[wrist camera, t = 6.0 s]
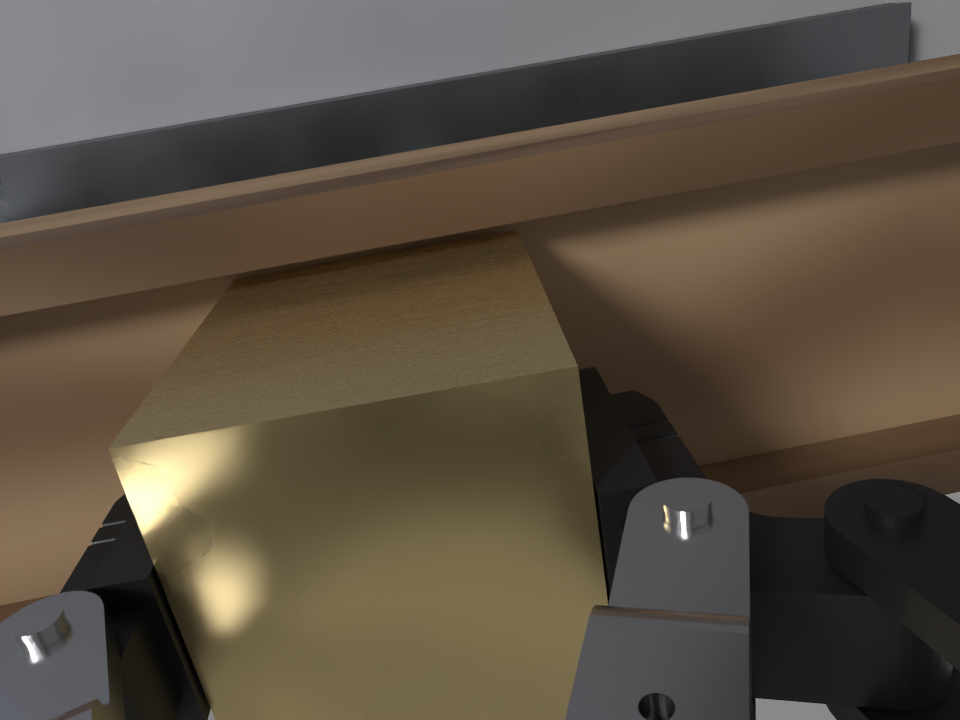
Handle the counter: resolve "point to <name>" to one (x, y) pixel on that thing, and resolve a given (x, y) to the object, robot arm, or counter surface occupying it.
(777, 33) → the pivot stand
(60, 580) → the seesaw beam
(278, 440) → the brass block
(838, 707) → the robot arm
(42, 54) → the counter surface
